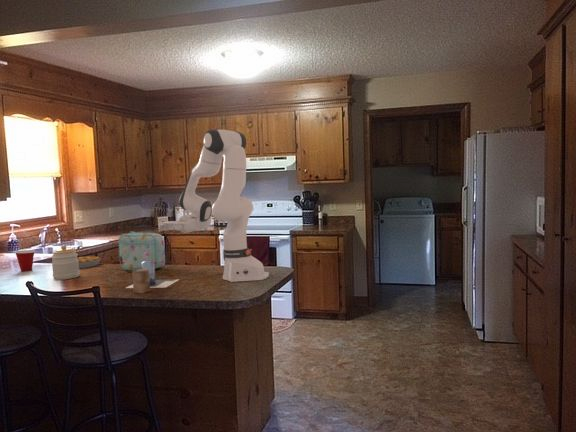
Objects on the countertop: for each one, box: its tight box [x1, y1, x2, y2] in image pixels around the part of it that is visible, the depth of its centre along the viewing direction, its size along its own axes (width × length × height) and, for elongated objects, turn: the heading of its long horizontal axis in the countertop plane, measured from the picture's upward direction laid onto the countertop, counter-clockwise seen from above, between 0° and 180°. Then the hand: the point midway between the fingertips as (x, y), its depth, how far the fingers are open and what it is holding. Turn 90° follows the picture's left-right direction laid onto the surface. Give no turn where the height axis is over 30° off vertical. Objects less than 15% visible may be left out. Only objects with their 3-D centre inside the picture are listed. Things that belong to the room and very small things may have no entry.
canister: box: [142, 260, 156, 286], centre depth 221 cm, size 6×6×11 cm
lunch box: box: [117, 230, 166, 271], centre depth 263 cm, size 27×10×21 cm, turn 72°
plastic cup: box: [14, 249, 36, 272], centre depth 279 cm, size 11×11×12 cm
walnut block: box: [131, 269, 151, 294], centre depth 207 cm, size 5×5×10 cm
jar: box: [50, 244, 80, 281], centre depth 251 cm, size 13×13×18 cm
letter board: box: [125, 278, 180, 289], centre depth 223 cm, size 20×16×1 cm
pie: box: [77, 255, 101, 269], centre depth 286 cm, size 22×22×5 cm
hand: (166, 227), depth 228 cm, fingers open, 8 cm apart
